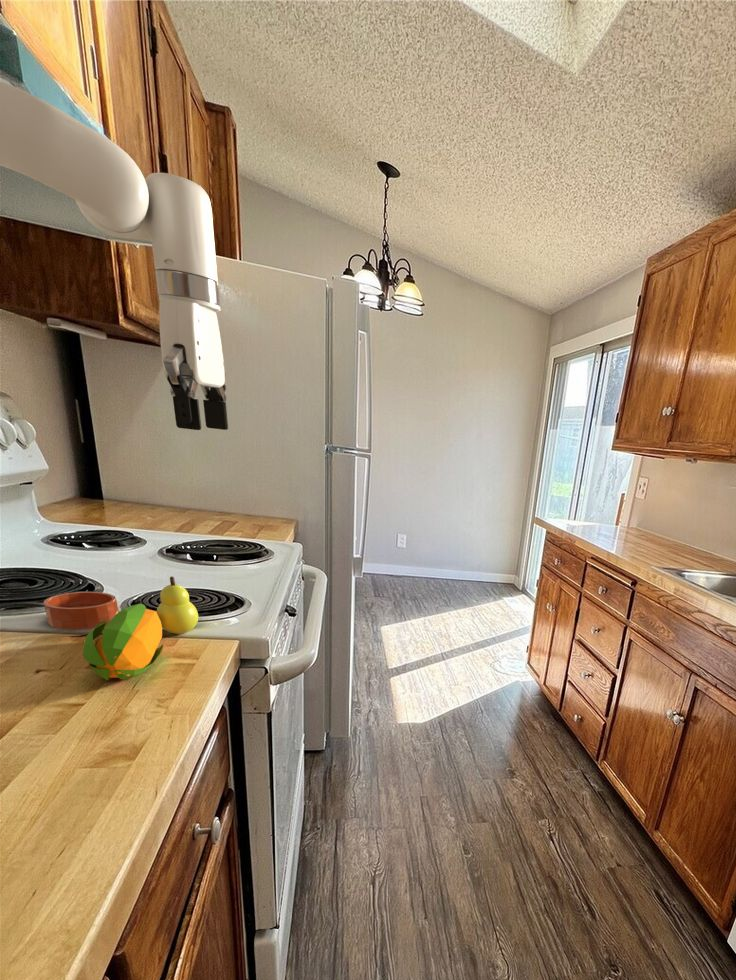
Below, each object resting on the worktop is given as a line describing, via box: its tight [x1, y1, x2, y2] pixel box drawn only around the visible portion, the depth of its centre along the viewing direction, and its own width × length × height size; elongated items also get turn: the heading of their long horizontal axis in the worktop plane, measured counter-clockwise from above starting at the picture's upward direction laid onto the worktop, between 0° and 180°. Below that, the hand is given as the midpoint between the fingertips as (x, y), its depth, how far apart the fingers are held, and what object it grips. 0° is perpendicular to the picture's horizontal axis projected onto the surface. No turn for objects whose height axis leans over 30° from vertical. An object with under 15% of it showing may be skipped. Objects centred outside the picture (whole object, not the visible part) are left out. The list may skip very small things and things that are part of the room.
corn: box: [82, 603, 164, 681], centre depth 74 cm, size 7×8×20 cm
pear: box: [155, 576, 199, 635], centre depth 85 cm, size 6×6×9 cm
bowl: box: [43, 591, 120, 638], centre depth 83 cm, size 9×9×4 cm
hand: (204, 428), depth 84 cm, fingers open, 9 cm apart
